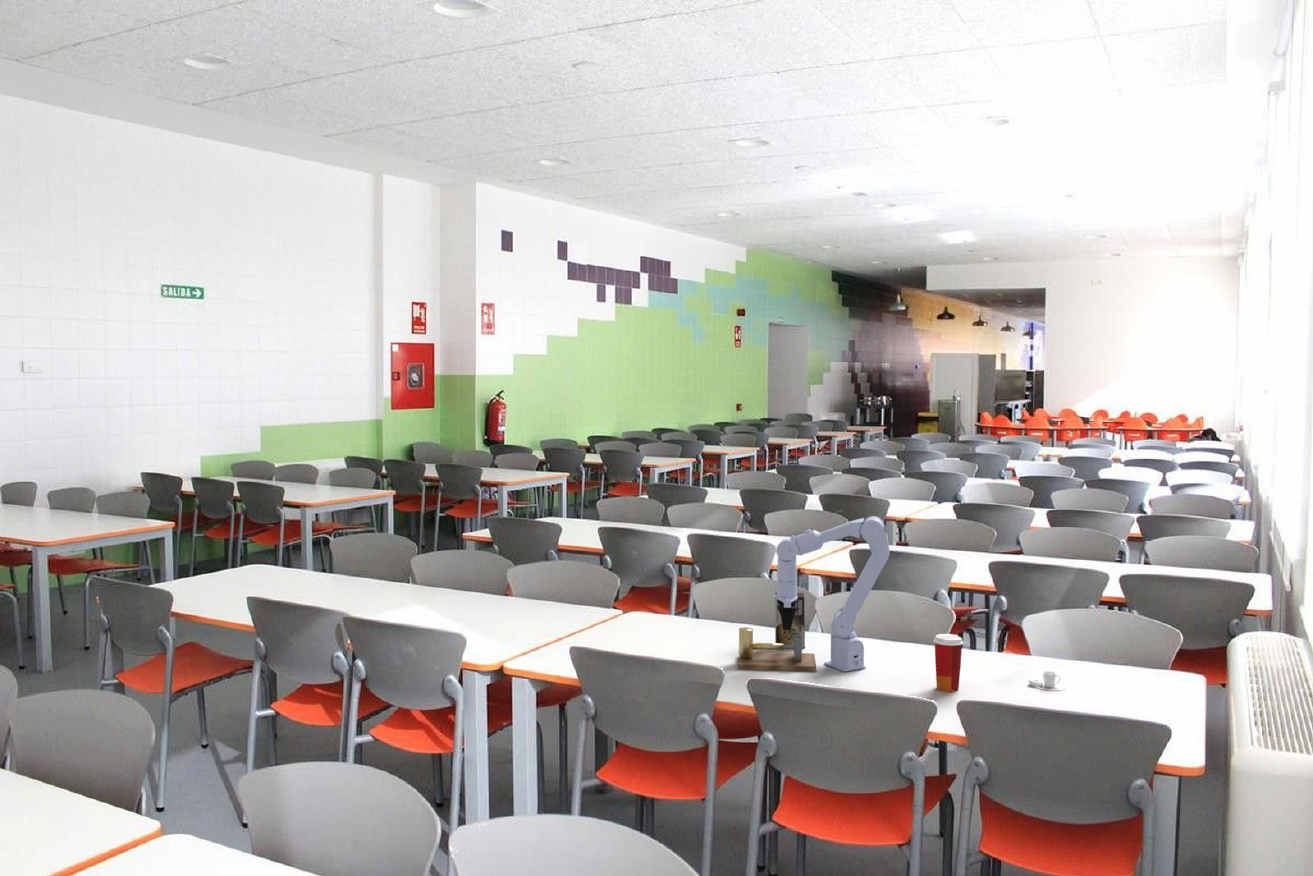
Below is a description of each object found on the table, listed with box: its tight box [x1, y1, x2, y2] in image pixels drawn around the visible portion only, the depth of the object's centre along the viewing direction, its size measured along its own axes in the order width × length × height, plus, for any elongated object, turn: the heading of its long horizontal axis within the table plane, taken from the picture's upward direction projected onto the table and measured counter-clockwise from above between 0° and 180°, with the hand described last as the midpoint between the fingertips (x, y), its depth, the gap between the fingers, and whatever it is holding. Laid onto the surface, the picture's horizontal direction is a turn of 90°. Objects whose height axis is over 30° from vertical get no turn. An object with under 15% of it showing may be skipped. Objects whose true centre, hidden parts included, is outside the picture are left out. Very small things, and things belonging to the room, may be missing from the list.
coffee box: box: [774, 592, 806, 649], centre depth 320 cm, size 9×6×16 cm
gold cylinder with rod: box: [738, 626, 785, 659], centre depth 300 cm, size 13×4×8 cm, turn 84°
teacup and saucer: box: [1028, 670, 1066, 692], centre depth 278 cm, size 9×8×4 cm
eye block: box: [737, 632, 817, 673], centre depth 300 cm, size 22×14×8 cm, turn 84°
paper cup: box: [932, 633, 964, 693], centre depth 275 cm, size 8×8×14 cm
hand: (786, 627), depth 301 cm, fingers open, 7 cm apart
